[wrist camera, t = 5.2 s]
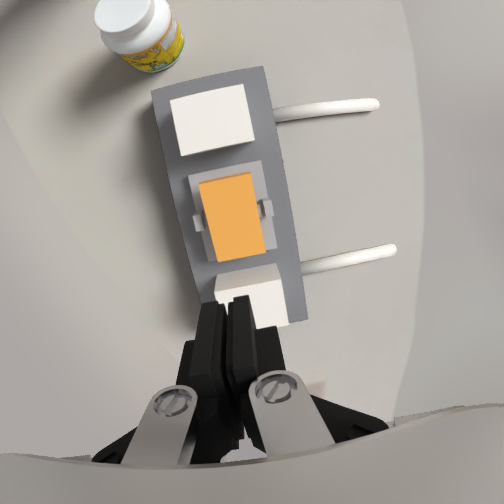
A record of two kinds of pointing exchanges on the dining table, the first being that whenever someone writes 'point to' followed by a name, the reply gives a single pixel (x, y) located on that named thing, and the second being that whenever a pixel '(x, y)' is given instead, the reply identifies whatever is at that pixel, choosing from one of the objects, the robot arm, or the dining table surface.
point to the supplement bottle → (140, 32)
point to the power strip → (264, 183)
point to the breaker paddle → (232, 216)
